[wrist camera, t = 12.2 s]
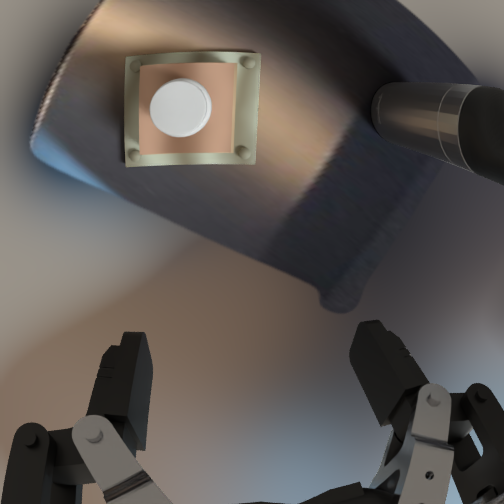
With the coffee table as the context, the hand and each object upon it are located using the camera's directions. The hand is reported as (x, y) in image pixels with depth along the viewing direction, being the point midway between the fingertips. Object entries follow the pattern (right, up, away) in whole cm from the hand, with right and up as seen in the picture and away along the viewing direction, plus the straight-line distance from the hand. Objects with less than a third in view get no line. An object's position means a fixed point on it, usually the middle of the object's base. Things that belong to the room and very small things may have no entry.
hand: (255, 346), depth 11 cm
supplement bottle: (-6, +17, +15) cm, 24 cm away
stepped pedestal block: (-7, +21, +22) cm, 31 cm away
